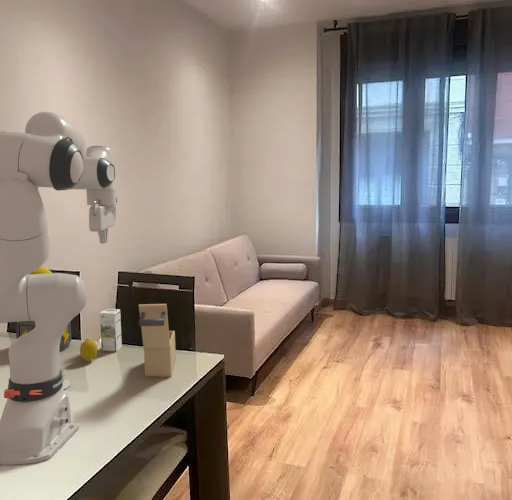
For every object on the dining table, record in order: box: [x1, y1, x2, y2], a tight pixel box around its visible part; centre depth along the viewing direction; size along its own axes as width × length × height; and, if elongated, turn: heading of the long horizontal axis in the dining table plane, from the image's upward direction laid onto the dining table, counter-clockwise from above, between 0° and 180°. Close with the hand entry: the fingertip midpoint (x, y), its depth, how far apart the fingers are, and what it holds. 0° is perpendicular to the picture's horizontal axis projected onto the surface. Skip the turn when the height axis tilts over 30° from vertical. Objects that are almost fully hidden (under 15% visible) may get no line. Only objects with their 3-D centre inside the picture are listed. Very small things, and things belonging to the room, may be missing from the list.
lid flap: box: [138, 303, 170, 349], centre depth 151 cm, size 16×8×6 cm
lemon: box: [79, 338, 98, 362], centre depth 173 cm, size 6×6×8 cm
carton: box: [143, 330, 176, 379], centre depth 166 cm, size 16×8×10 cm, turn 4°
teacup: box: [60, 367, 71, 391], centre depth 152 cm, size 10×10×5 cm
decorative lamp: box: [14, 266, 72, 353], centre depth 186 cm, size 19×19×30 cm
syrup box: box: [99, 308, 123, 353], centre depth 185 cm, size 6×6×14 cm
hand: (103, 243), depth 162 cm, fingers closed
